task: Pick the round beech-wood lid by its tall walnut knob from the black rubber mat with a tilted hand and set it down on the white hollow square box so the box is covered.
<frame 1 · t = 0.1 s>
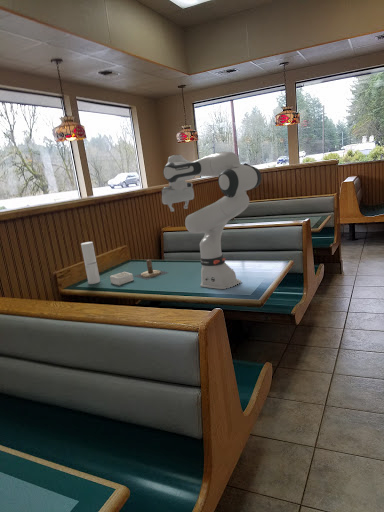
hand: (179, 210, 214), 39 cm above the table, tool pointing down, fingers open, 8 cm apart
lid: (150, 274, 236), resting on mat
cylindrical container: (94, 282, 237), on the table
white hollow square box: (122, 282, 229), on the table
mat: (151, 275, 236), on the table
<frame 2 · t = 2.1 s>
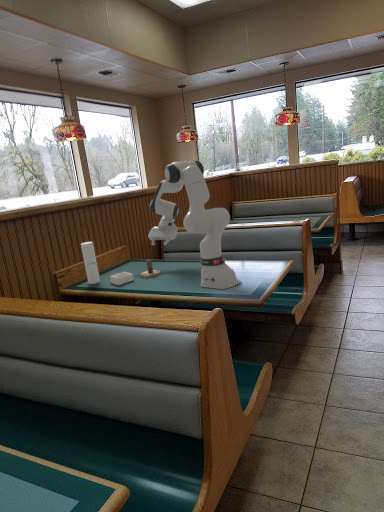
hand: (158, 244, 243), 16 cm above the table, tool tilted 45°, fingers open, 8 cm apart
nothing on the table moved.
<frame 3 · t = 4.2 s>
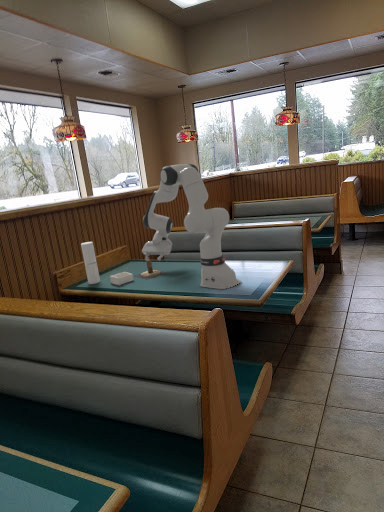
hand: (152, 259, 238), 9 cm above the table, tool tilted 45°, fingers open, 8 cm apart
nothing on the table moved.
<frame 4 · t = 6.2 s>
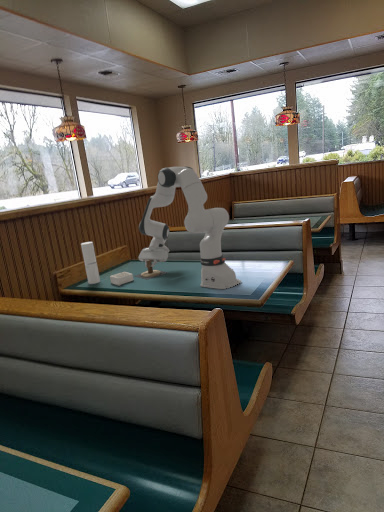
hand: (149, 266, 235), 5 cm above the table, tool tilted 45°, fingers closed on lid, 3 cm apart
lid: (150, 274, 236), resting on mat, touching gripper
everything else where it was.
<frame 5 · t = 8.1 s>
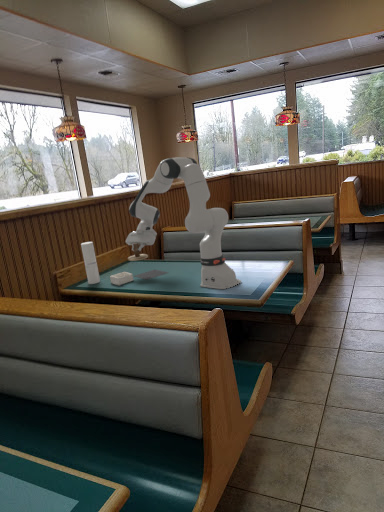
hand: (136, 250, 230), 17 cm above the table, tool tilted 45°, fingers closed on lid, 3 cm apart
lid: (138, 258, 232), point 12 cm above the table, touching gripper
everything else where it was.
when the fingers open (11 cm above the table, at t = 10.2 s): lid drops 1 cm, resting on white hollow square box.
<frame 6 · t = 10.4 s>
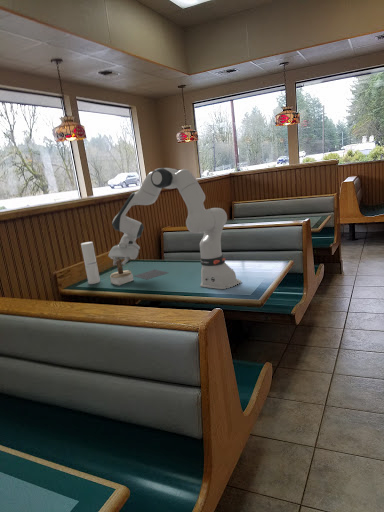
hand: (118, 264, 226), 11 cm above the table, tool tilted 45°, fingers open, 5 cm apart
lid: (121, 274, 228), point 4 cm above the table, touching white hollow square box
everything else where it was.
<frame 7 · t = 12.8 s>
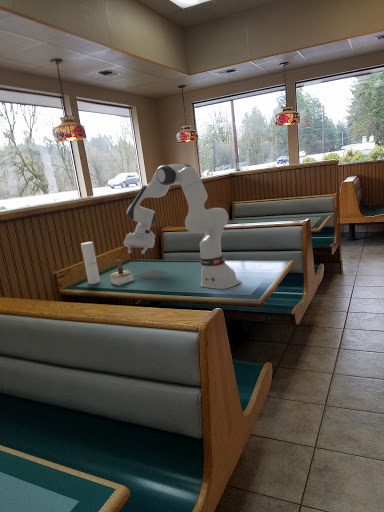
hand: (135, 253, 236), 14 cm above the table, tool tilted 40°, fingers open, 8 cm apart
nothing on the table moved.
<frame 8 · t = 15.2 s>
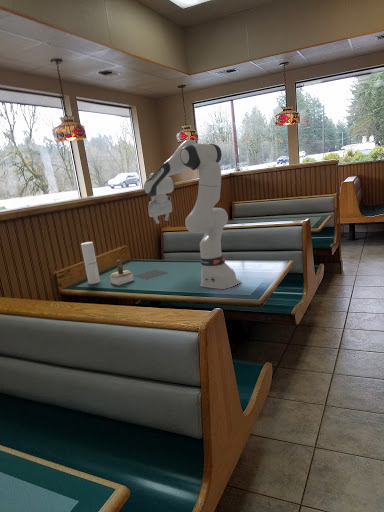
hand: (162, 222, 234), 31 cm above the table, tool pointing down, fingers open, 8 cm apart
nothing on the table moved.
at the end: lid 0.1 cm off-centre on the white hollow square box, point 4.5 cm above the white hollow square box's base; lid tilted 0°; the gripper is holding nothing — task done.
